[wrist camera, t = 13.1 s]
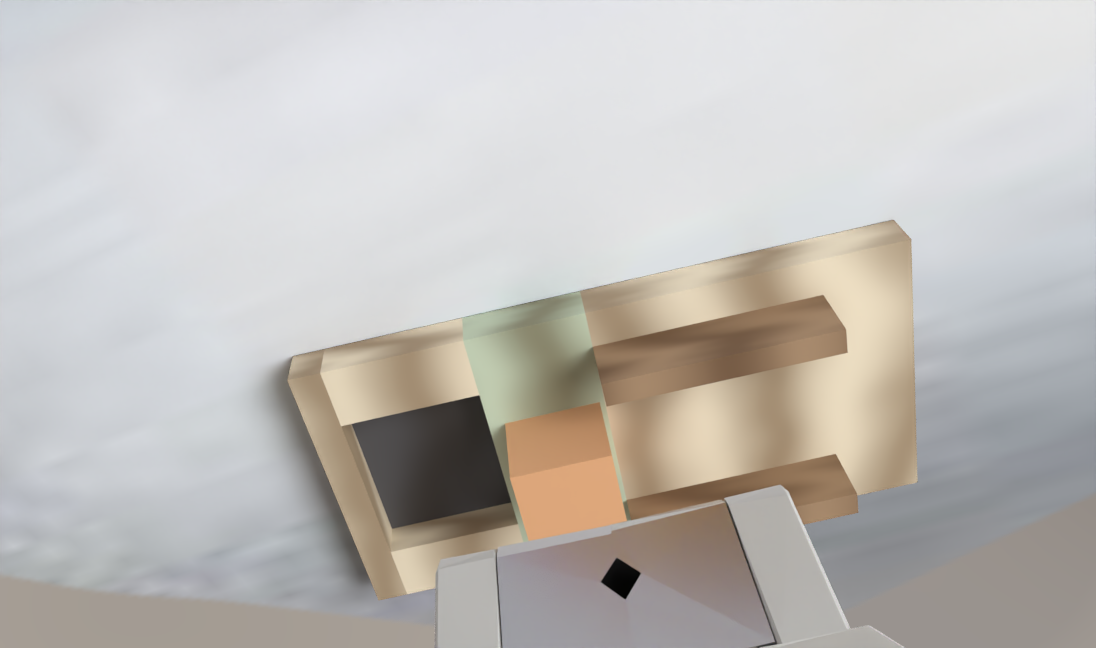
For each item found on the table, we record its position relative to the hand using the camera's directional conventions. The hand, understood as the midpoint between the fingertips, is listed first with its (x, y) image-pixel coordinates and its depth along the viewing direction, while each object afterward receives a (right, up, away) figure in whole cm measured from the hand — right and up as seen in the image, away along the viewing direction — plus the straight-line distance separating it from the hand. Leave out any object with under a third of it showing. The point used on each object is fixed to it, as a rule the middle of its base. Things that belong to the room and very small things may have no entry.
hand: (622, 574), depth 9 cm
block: (0, -4, +40) cm, 40 cm away
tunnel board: (+3, -2, +41) cm, 41 cm away
